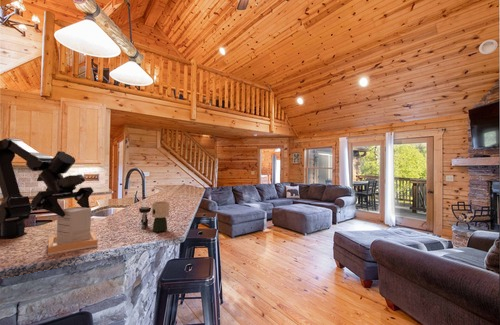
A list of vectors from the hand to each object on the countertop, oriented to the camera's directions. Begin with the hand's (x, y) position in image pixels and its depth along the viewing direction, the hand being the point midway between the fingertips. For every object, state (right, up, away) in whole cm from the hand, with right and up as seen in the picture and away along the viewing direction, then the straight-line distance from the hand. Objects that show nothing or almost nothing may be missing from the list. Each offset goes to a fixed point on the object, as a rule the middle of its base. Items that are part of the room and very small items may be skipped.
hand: (77, 213), depth 82 cm
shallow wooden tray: (-2, -12, 0) cm, 12 cm away
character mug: (+22, -13, +20) cm, 33 cm away
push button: (+13, -13, +25) cm, 31 cm away
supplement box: (-2, -11, 0) cm, 11 cm away
